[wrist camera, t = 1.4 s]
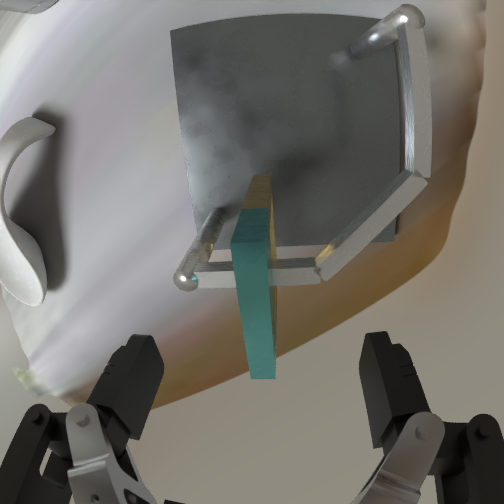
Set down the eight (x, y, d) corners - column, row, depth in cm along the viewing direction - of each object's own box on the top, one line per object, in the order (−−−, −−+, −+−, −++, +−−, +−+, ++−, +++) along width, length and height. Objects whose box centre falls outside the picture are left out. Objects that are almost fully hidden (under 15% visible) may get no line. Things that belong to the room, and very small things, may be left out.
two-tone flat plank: (253, 175, 19) (229, 243, 10) (270, 173, 19) (265, 241, 10) (261, 268, 23) (250, 379, 13) (277, 267, 23) (275, 378, 13)
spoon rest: (59, 306, 32) (31, 339, 26) (5, 268, 31) (-24, 294, 24) (81, 134, 22) (30, 148, 15) (14, 108, 20) (-32, 118, 14)
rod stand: (174, 33, 17) (108, -6, 8) (385, 23, 15) (450, -17, 6) (203, 245, 26) (166, 322, 17) (390, 236, 24) (440, 307, 15)
